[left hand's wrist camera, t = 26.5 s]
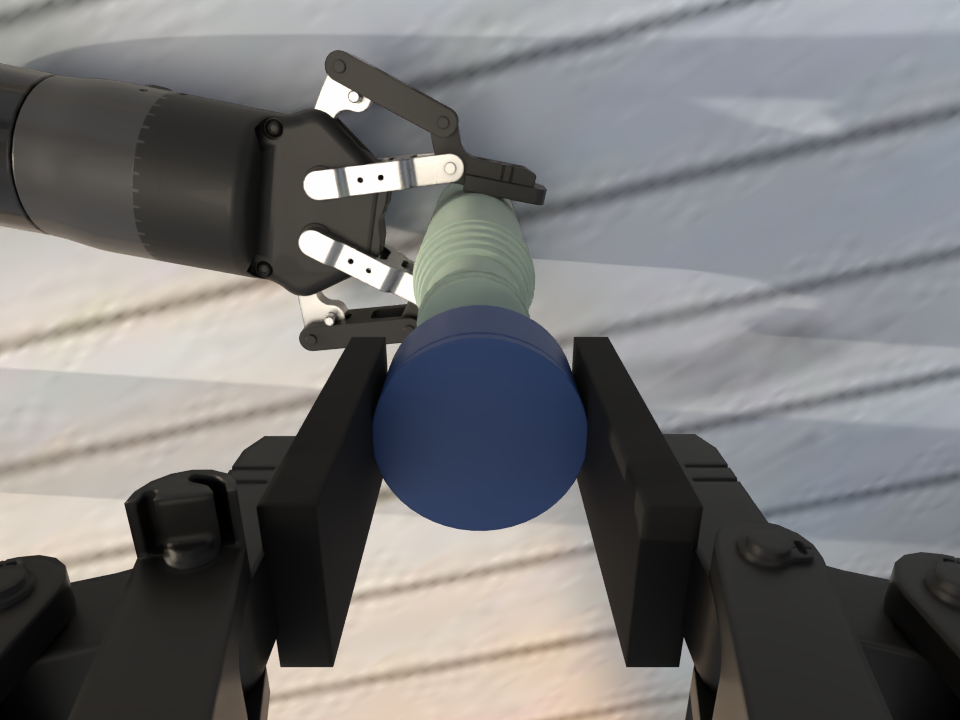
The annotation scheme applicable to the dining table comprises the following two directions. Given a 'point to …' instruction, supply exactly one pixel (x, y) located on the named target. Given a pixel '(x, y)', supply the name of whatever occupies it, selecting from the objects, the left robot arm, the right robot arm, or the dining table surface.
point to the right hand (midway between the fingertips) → (529, 247)
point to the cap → (479, 420)
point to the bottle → (472, 256)
